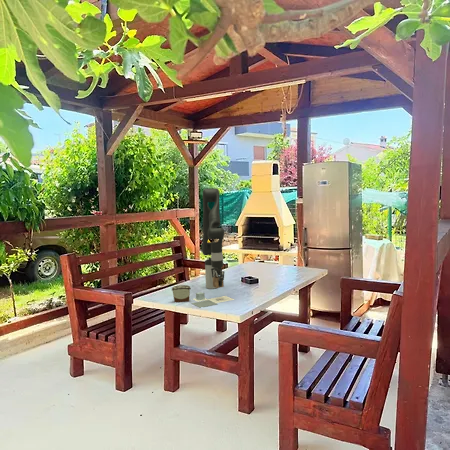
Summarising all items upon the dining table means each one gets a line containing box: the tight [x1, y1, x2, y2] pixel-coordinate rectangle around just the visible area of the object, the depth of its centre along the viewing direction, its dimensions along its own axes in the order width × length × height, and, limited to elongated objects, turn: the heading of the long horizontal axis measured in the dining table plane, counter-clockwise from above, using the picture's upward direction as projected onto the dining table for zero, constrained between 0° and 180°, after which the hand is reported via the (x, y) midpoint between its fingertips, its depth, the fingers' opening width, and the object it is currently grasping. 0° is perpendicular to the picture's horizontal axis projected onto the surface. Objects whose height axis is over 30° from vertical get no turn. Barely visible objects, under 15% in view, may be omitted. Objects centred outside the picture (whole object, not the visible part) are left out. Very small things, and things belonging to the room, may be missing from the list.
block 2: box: [213, 277, 225, 289], centre depth 246 cm, size 5×5×6 cm
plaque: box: [192, 297, 208, 302], centre depth 250 cm, size 8×8×1 cm
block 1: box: [195, 291, 206, 300], centre depth 250 cm, size 4×4×4 cm
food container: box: [171, 284, 191, 303], centre depth 247 cm, size 12×6×10 cm, turn 92°
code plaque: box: [204, 295, 235, 304], centre depth 246 cm, size 12×16×1 cm
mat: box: [191, 300, 219, 309], centre depth 238 cm, size 12×12×1 cm
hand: (218, 285), depth 246 cm, fingers closed on block 2, 5 cm apart
